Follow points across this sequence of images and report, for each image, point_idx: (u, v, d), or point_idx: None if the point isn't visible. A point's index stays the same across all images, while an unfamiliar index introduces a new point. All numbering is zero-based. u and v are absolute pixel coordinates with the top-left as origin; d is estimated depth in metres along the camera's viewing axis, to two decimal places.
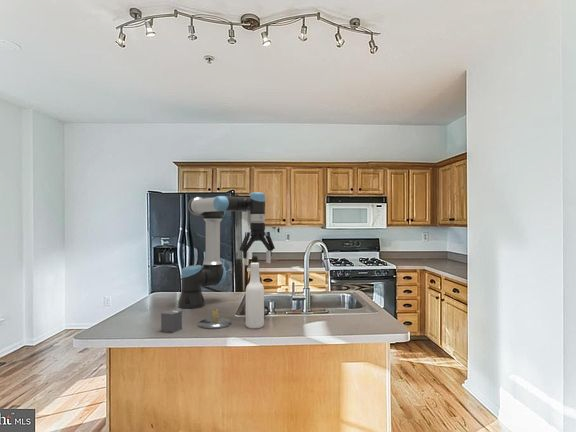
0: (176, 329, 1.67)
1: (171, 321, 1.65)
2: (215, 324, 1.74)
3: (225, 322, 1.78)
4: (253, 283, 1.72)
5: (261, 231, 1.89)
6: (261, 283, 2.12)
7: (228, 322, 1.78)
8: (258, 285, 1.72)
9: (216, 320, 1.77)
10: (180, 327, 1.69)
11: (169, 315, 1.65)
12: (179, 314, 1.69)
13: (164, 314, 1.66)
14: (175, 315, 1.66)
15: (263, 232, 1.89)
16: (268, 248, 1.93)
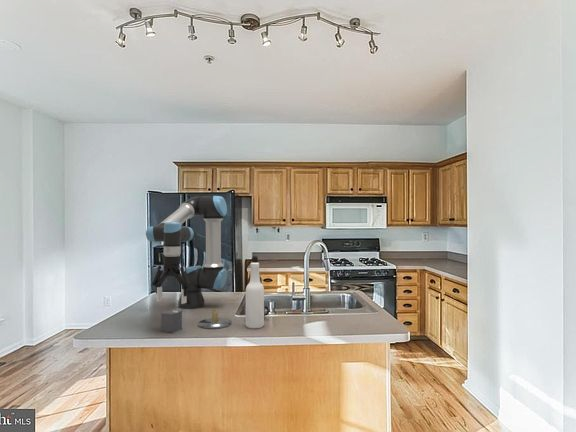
0: (176, 329, 1.67)
1: (171, 321, 1.65)
2: (215, 324, 1.74)
3: (225, 322, 1.78)
4: (253, 283, 1.72)
5: (173, 266, 1.67)
6: (261, 283, 2.12)
7: (228, 322, 1.78)
8: (258, 285, 1.72)
9: (216, 320, 1.77)
10: (180, 327, 1.69)
11: (169, 315, 1.65)
12: (179, 314, 1.69)
13: (164, 314, 1.66)
14: (175, 315, 1.66)
15: (175, 267, 1.67)
16: (185, 286, 1.67)
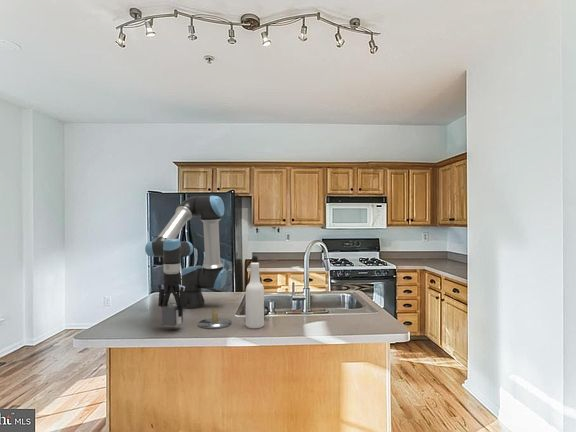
0: None
1: (172, 314, 1.65)
2: (215, 324, 1.74)
3: (225, 322, 1.78)
4: (253, 283, 1.72)
5: (174, 282, 1.67)
6: (261, 283, 2.12)
7: (228, 322, 1.78)
8: (258, 285, 1.72)
9: (216, 320, 1.77)
10: (181, 320, 1.70)
11: (170, 309, 1.66)
12: None
13: (165, 308, 1.67)
14: (176, 308, 1.67)
15: (176, 284, 1.67)
16: (180, 306, 1.68)
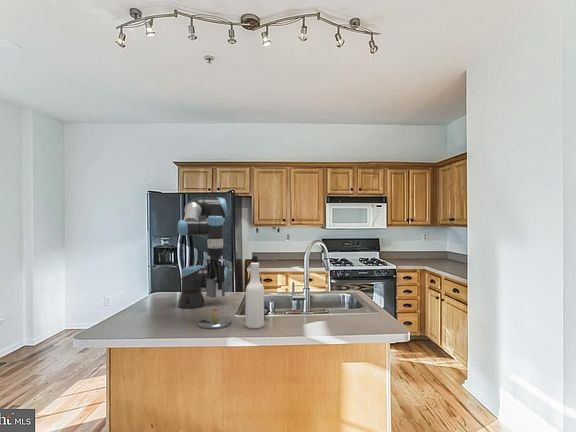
0: None
1: (211, 286, 1.74)
2: (215, 324, 1.74)
3: (225, 322, 1.78)
4: (253, 283, 1.72)
5: (215, 256, 1.76)
6: (261, 283, 2.12)
7: (228, 322, 1.78)
8: (258, 285, 1.72)
9: (216, 320, 1.77)
10: (222, 294, 1.77)
11: (210, 281, 1.75)
12: None
13: (208, 280, 1.78)
14: (215, 281, 1.75)
15: (216, 258, 1.75)
16: None
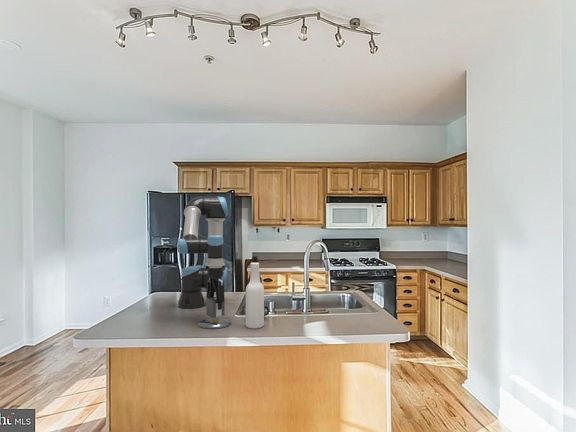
0: None
1: (211, 306, 1.74)
2: (215, 324, 1.74)
3: (225, 322, 1.78)
4: (253, 283, 1.72)
5: (215, 276, 1.76)
6: (261, 283, 2.12)
7: (228, 322, 1.78)
8: (258, 285, 1.72)
9: (216, 320, 1.77)
10: (222, 313, 1.77)
11: (210, 301, 1.75)
12: None
13: (208, 299, 1.77)
14: (215, 301, 1.75)
15: (216, 278, 1.75)
16: None
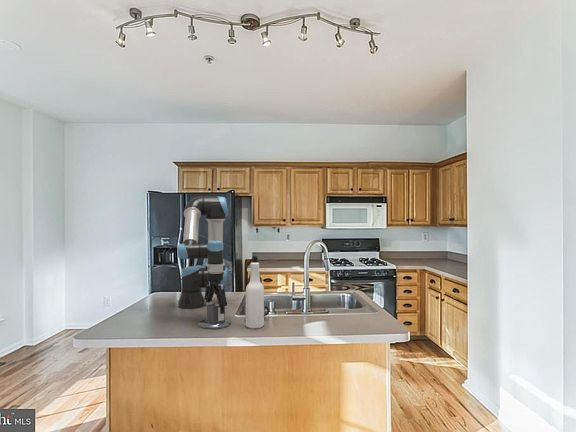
0: (217, 321, 1.75)
1: (212, 313, 1.74)
2: (215, 324, 1.74)
3: (225, 322, 1.78)
4: (253, 283, 1.72)
5: (214, 282, 1.76)
6: (261, 283, 2.12)
7: (228, 322, 1.78)
8: (258, 285, 1.72)
9: None
10: (223, 320, 1.77)
11: (211, 307, 1.75)
12: None
13: (208, 306, 1.77)
14: (216, 308, 1.75)
15: (216, 284, 1.75)
16: None
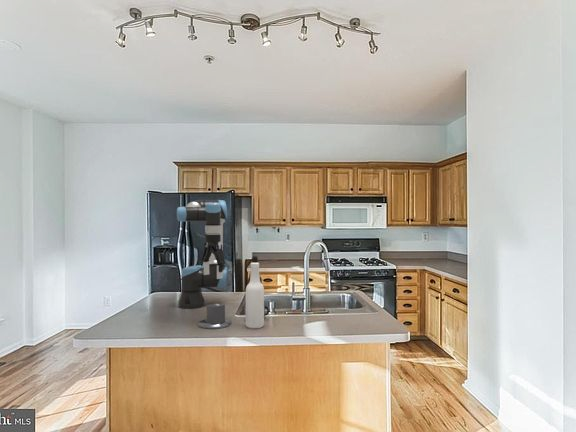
0: (217, 321, 1.75)
1: (212, 313, 1.74)
2: (215, 324, 1.74)
3: (225, 322, 1.78)
4: (253, 283, 1.72)
5: (212, 243, 1.81)
6: (261, 283, 2.12)
7: (228, 322, 1.78)
8: (258, 285, 1.72)
9: None
10: (223, 320, 1.77)
11: (211, 307, 1.75)
12: (221, 308, 1.77)
13: (208, 306, 1.77)
14: (216, 308, 1.75)
15: (213, 244, 1.80)
16: None
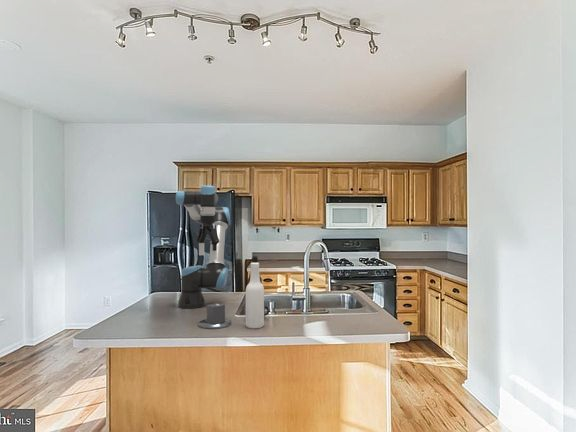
0: (217, 321, 1.75)
1: (212, 313, 1.74)
2: (215, 324, 1.74)
3: (225, 322, 1.78)
4: (253, 283, 1.72)
5: (207, 224, 1.90)
6: (261, 283, 2.12)
7: (228, 322, 1.78)
8: (258, 285, 1.72)
9: None
10: (223, 320, 1.77)
11: (211, 307, 1.75)
12: (221, 308, 1.77)
13: (208, 306, 1.77)
14: (216, 308, 1.75)
15: (208, 225, 1.89)
16: None
